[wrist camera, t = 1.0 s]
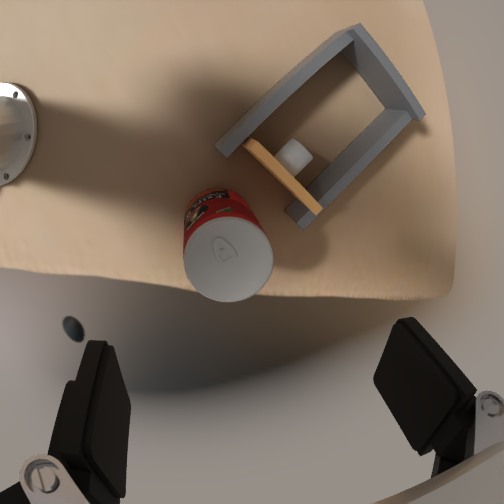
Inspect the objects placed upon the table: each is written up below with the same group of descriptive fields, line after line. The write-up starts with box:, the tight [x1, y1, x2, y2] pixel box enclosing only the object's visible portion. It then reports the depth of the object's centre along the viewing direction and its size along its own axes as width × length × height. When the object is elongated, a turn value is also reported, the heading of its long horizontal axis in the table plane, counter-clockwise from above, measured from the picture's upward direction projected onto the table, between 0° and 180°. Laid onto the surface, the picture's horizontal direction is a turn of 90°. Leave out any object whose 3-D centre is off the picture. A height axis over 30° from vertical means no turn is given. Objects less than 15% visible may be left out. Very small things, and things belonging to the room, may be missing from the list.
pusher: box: [241, 137, 323, 215], centre depth 31 cm, size 4×9×7 cm, turn 45°
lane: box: [215, 23, 426, 230], centre depth 31 cm, size 20×12×6 cm, turn 135°
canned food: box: [183, 189, 274, 302], centre depth 32 cm, size 8×8×11 cm
